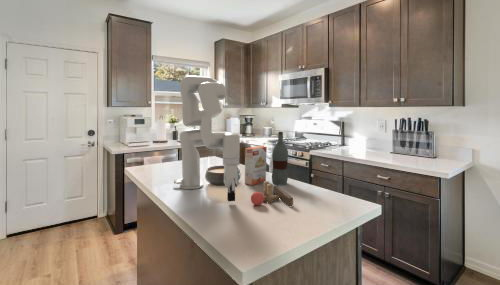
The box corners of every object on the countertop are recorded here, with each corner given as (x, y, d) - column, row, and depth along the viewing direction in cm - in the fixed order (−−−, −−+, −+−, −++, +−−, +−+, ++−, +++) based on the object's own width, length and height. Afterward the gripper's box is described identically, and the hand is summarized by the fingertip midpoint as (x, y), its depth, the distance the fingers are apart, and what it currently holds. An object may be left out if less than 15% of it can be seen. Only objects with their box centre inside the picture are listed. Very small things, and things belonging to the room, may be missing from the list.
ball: (263, 208, 128) (250, 206, 129) (265, 195, 131) (252, 194, 132) (262, 202, 123) (249, 201, 124) (264, 189, 126) (251, 188, 128)
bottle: (286, 181, 169) (287, 131, 166) (288, 185, 160) (290, 132, 157) (270, 181, 169) (271, 131, 165) (272, 185, 160) (273, 132, 156)
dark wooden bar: (288, 206, 126) (288, 198, 125) (273, 193, 145) (273, 186, 144) (292, 206, 126) (293, 197, 126) (277, 193, 145) (277, 185, 145)
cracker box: (252, 185, 159) (253, 149, 156) (244, 184, 162) (244, 148, 160) (266, 180, 170) (267, 146, 167) (258, 179, 174) (258, 145, 171)
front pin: (262, 197, 131) (279, 196, 134) (260, 195, 134) (277, 194, 136) (262, 202, 132) (279, 200, 134) (260, 200, 134) (277, 199, 136)
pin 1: (264, 200, 135) (264, 182, 134) (262, 198, 137) (263, 181, 136) (269, 199, 135) (269, 182, 134) (267, 198, 138) (267, 181, 137)
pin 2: (267, 203, 130) (268, 185, 129) (266, 201, 132) (266, 184, 131) (272, 203, 130) (273, 185, 129) (271, 201, 133) (271, 183, 132)
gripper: (220, 158, 133) (220, 196, 135) (225, 164, 119) (226, 206, 121) (236, 157, 135) (235, 195, 137) (243, 163, 121) (243, 205, 123)
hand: (231, 200), depth 129 cm, fingers closed
